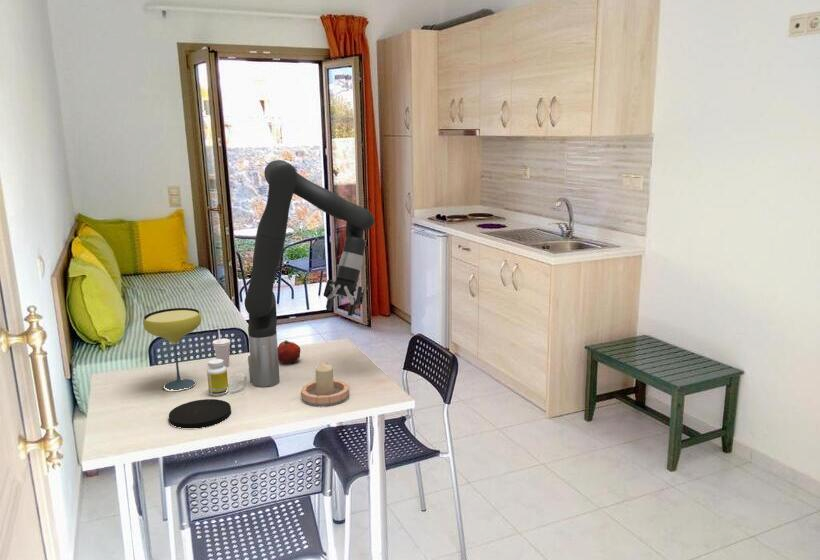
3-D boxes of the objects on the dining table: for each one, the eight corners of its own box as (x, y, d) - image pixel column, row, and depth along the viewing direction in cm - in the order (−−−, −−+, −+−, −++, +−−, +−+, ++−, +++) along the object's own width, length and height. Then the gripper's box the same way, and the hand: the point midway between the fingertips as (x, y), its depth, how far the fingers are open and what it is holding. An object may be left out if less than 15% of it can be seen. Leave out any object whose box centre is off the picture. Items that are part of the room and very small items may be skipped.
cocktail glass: (138, 392, 212) (130, 320, 206) (174, 374, 229) (167, 306, 223) (184, 398, 206) (176, 324, 201) (217, 379, 223) (211, 309, 217)
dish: (292, 401, 202) (291, 392, 202) (320, 385, 215) (319, 376, 214) (331, 409, 195) (331, 400, 195) (357, 392, 208) (357, 383, 208)
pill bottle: (232, 391, 211) (230, 359, 209) (218, 398, 206) (215, 365, 204) (219, 388, 215) (216, 356, 212) (205, 394, 209) (202, 362, 207)
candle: (330, 397, 202) (329, 367, 200) (314, 396, 203) (312, 366, 201) (336, 390, 207) (334, 361, 205) (319, 390, 208) (318, 360, 206)
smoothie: (214, 364, 238) (211, 328, 234) (232, 362, 239) (229, 326, 236) (214, 370, 232) (211, 333, 229) (233, 368, 233) (229, 331, 230)
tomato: (293, 356, 245) (292, 336, 243) (306, 362, 238) (304, 341, 237) (271, 361, 239) (270, 341, 238) (283, 368, 232) (282, 346, 231)
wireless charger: (242, 416, 193) (241, 410, 192) (185, 435, 181) (185, 429, 180) (213, 400, 205) (213, 394, 205) (159, 417, 193) (158, 411, 193)
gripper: (326, 261, 218) (316, 308, 218) (362, 268, 212) (351, 316, 212) (337, 265, 225) (327, 310, 224) (372, 272, 219) (362, 318, 218)
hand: (339, 313), depth 218 cm, fingers open, 8 cm apart
